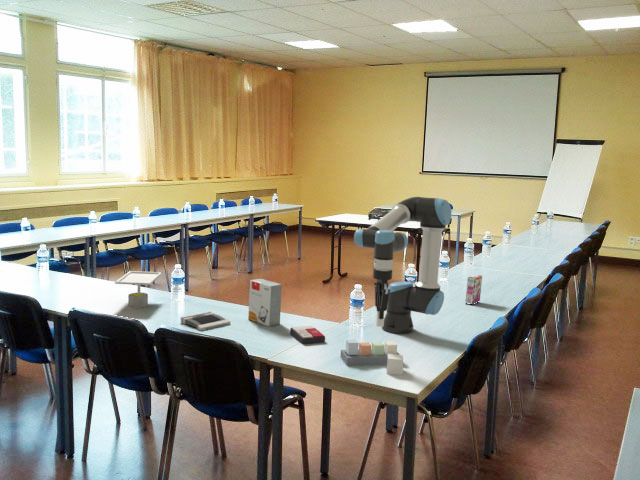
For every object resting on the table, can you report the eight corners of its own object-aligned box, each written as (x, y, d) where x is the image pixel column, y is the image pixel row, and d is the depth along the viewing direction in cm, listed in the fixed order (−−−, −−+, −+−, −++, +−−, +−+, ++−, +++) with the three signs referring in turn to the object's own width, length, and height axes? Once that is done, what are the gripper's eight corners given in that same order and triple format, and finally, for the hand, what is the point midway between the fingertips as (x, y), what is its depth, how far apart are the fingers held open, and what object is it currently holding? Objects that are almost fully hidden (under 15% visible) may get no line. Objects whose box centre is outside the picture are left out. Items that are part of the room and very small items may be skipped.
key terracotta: (367, 354, 248) (368, 342, 247) (370, 357, 244) (371, 345, 243) (358, 354, 247) (359, 342, 246) (361, 357, 243) (361, 345, 242)
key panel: (393, 355, 254) (393, 348, 253) (401, 363, 244) (402, 356, 244) (340, 356, 249) (340, 349, 248) (346, 365, 239) (347, 358, 239)
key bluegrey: (355, 351, 246) (355, 339, 246) (357, 354, 243) (358, 342, 242) (345, 351, 246) (346, 339, 245) (348, 355, 242) (348, 343, 241)
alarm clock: (209, 311, 298) (230, 315, 287) (210, 320, 298) (231, 325, 287) (180, 317, 285) (201, 322, 274) (180, 326, 285) (201, 332, 274)
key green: (380, 353, 249) (381, 342, 248) (383, 357, 245) (384, 345, 244) (371, 354, 248) (372, 342, 247) (374, 357, 244) (374, 345, 244)
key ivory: (393, 353, 250) (394, 341, 249) (396, 356, 246) (397, 345, 246) (384, 353, 249) (384, 342, 249) (387, 357, 245) (387, 345, 245)
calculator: (302, 337, 262) (290, 325, 275) (302, 346, 263) (289, 334, 276) (325, 335, 266) (312, 324, 280) (325, 344, 267) (311, 333, 281)
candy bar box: (473, 305, 348) (475, 277, 346) (464, 304, 351) (467, 276, 348) (480, 302, 357) (482, 275, 355) (472, 301, 360) (474, 274, 358)
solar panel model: (149, 312, 301) (149, 283, 298) (114, 311, 300) (114, 281, 298) (161, 299, 328) (161, 272, 326) (129, 298, 327) (129, 270, 325)
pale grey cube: (402, 375, 232) (403, 360, 231) (386, 373, 233) (387, 358, 232) (402, 369, 238) (403, 354, 237) (386, 368, 238) (387, 353, 238)
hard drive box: (247, 319, 297) (248, 280, 294) (259, 317, 302) (260, 278, 300) (268, 326, 286) (270, 285, 284) (280, 324, 292) (282, 283, 289)
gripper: (369, 265, 247) (366, 321, 251) (379, 272, 234) (375, 331, 238) (386, 265, 249) (383, 321, 252) (397, 272, 236) (393, 330, 240)
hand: (379, 325), depth 245 cm, fingers closed
